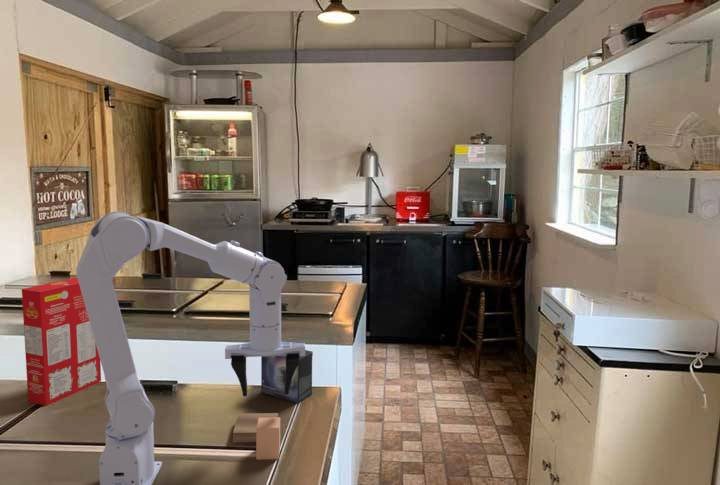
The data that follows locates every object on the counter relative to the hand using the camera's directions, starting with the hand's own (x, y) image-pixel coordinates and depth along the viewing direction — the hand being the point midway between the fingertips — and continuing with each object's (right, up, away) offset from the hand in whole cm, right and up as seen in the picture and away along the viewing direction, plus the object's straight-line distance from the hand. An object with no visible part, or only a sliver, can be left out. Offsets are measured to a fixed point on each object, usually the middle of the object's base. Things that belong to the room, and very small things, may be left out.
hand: (266, 393), depth 100 cm
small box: (+1, -7, +24) cm, 25 cm away
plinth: (-3, -9, +5) cm, 11 cm away
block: (+1, -10, -2) cm, 11 cm away
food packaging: (-50, -6, +22) cm, 55 cm away
